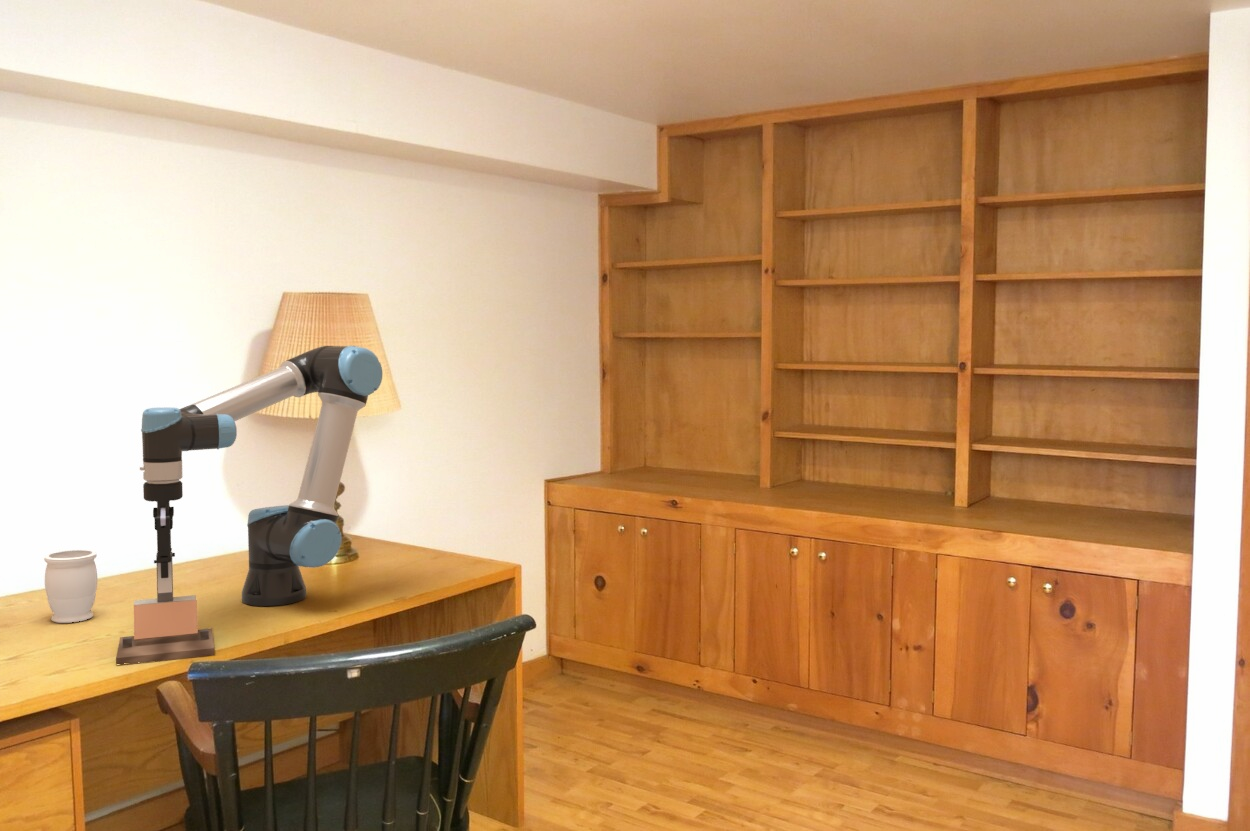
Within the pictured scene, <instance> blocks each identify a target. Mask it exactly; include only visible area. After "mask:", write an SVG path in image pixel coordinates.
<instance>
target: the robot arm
mask: <svg viewBox="0 0 1250 831" xmlns="http://www.w3.org/2000/svg"><path fill="white" fill-rule="evenodd" d="M382 381H383V368H382V364H381V362H380V361H379V358H378V357H377V355H376V354H375V353H374V352H373V351H372V350H370V349H368V348H366V347H361V346H356V345H347V346H346V345H345V346H344V345H343V346H342V345H323V346H319V347H315V348H313V349H310V350H308V351H306V352H303V353H301V354H299V355H296V356H294V357H292V358H289V359H287V360H284V361H283V362H281V364H280V365H279V368H276V369H274V370H272V371H269V372H266V373H263V374H262V375H259V376H256V377H254V378H252V379H249V380H247V381H245V382H243V383H240V384H238V385H235V386H233V387H232V386H231V388H228V389H226V390H223V391H220V392H218V393H216V394H213V395H211V396H208V397H206V398H204V399H201V400H199V401H197V402H194V403H192V404H190V405H186V406H184V407H181V408H178V407H149V408H146V409H145V410H143V411H142V412H143V413H142V417H141V418H142V419H141V429H140V431H141V439H142V442H141V443H142V462H143V463H142V465H140V466H139V470H140V471H143V475H142V476H143V477H142V478H143V480H144V481H145V482H144V483H143V484H142V485H143V487H142V488H143V489H142V490H143V500H144V501H147V502H156V505H157V506H156V507H153V510H152V517H153V518H154V529H155V531H156V545H157V551H156V554H157V553H158V557H157V560H156V559H153V564H156V571H157V570H158V593H169V592H172V566H173V561H172V562H171V553H170V552H172V558H174V557H176V553H175V552H173V548H172V534H171V530H172V529H173V525H174V524H173V523H174V521H173V519H174V518H173V517H174V515H175V514H174V513H175V510H174V506H171V505H170V501H171V502H173V501H178V500H180V499H182V498H183V496H184V495H183V482H182V481H181V479H183V458H182V456H183V452H189V451H201V450H202V451H203V450H215V449H216V450H220V449H224V448H225V449H226V448H229V447H232V446H233V445H234V443H235V441H236V439H237V432H238V431H237V425H236V422H237V421H239V420H241V419H243V418H245V417H249V416H250V415H252V414H254V413H257V412H259V411H262V410H264V409H266V408H269V407H271V406H273V405H275V404H278V403H280V402H282V401H285V400H286V399H289V398H292V397H295V398H301V397H304V396H306V395H309V394H312V393H317V396H318V397H319V399H320V400H321V408H320V410H319V415H318V418H317V421H316V427H315V430H314V435H313V438H312V442H311V446H310V448H309V453H308V457H307V462H306V465H305V469H304V473H303V476H302V480H301V483H300V484H301V485H300V488H299V492H298V496H297V499H295V500H294V501H291V503H290V504H286V505H275V506H266V507H259V508H254V509H251V511H250V512H248V514H247V516H248V518H247V524H246V526H247V532H248V533H247V534H248V535H247V537H248V538H247V539H248V540H247V541H248V542H247V543H248V570H247V571H248V572H247V575H246V578H245V581H244V584H243V587H242V590H241V601H242V603H243V604H245V605H250V606H255V607H257V606H258V607H275V606H276V607H277V606H286V605H291V604H294V603H298V602H302V601H303V600H305V599H306V598H307V586H306V584H305V580H304V577H303V576H302V572H301V570H300V567H304V568H312V569H313V568H319V567H323V566H324V565H327V564H328V563H329V562H331V561H333V559H334V558H335V557H336V555H337V554H338V553H339V550H340V549H341V545H342V539H343V538H342V532H341V530H340V527H339V526H338V525H337V522H338V517H339V514H338V512H337V510H336V509H335V504H336V499H337V495H338V491H339V488H340V484H341V479H342V475H343V471H344V467H345V463H346V460H347V454H348V451H349V448H350V443H351V440H352V435H353V431H354V429H355V428H354V427H355V424H356V419H357V416H358V412H359V411H360V410H361V409H363V408H365V407H366V405H367V402H368V398H369V396H370V395H371V394H374V392H376V391H377V390H379V388H380V386H381V384H382Z"/></svg>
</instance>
